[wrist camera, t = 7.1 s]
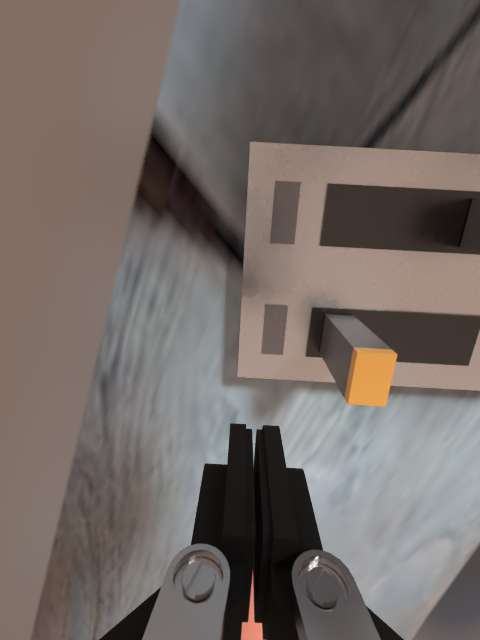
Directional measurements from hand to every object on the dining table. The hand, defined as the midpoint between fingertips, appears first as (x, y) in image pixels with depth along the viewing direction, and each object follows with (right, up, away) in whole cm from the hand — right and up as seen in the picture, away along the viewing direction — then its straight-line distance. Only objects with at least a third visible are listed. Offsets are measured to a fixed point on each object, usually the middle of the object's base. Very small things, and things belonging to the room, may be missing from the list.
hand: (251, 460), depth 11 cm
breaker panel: (+11, +8, +13) cm, 19 cm away
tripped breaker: (+7, +4, +12) cm, 14 cm away
